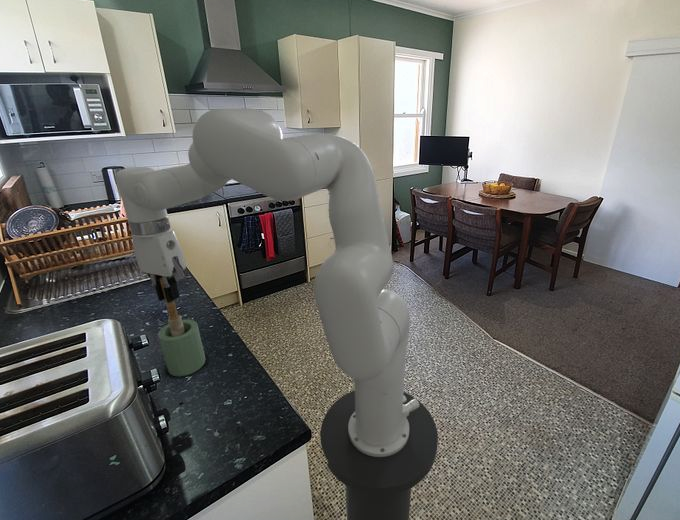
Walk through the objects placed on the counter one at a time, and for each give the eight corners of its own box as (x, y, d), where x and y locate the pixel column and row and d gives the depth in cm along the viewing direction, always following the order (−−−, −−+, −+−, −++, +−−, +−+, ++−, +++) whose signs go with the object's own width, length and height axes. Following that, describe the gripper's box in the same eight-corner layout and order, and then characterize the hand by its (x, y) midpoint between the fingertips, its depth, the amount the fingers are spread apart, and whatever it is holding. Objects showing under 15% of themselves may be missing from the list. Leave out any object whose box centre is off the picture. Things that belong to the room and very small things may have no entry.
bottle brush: (184, 329, 89) (170, 274, 82) (186, 335, 87) (171, 278, 80) (171, 333, 87) (155, 277, 81) (173, 339, 85) (157, 282, 79)
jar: (201, 349, 96) (193, 315, 92) (208, 367, 89) (200, 331, 85) (165, 361, 92) (155, 326, 87) (170, 381, 85) (160, 345, 81)
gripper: (191, 224, 76) (207, 297, 84) (139, 217, 81) (158, 286, 89) (163, 235, 70) (182, 313, 77) (108, 227, 75) (131, 300, 82)
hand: (169, 298), depth 83 cm, fingers closed on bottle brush
